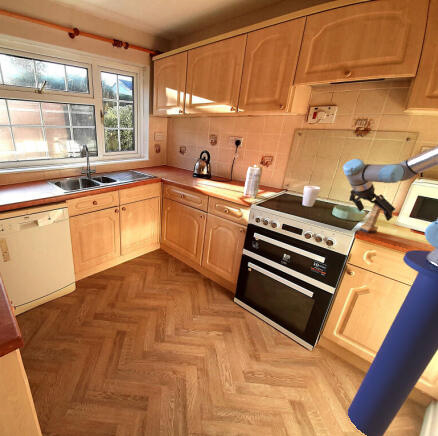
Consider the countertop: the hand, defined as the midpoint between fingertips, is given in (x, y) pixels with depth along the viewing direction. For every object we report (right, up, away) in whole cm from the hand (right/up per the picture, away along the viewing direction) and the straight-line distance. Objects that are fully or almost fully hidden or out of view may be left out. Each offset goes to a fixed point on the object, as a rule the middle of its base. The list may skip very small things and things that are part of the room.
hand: (375, 213), depth 126 cm
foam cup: (-6, +7, +45) cm, 45 cm away
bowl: (+5, -1, +24) cm, 24 cm away
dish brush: (0, -9, +4) cm, 10 cm away
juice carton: (-39, +14, +61) cm, 74 cm away
